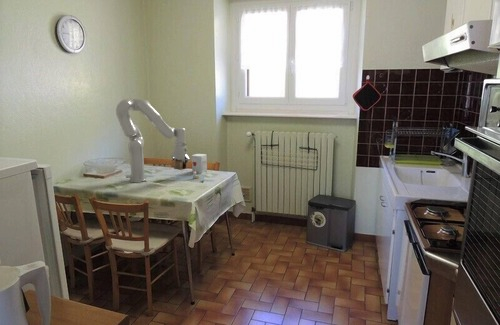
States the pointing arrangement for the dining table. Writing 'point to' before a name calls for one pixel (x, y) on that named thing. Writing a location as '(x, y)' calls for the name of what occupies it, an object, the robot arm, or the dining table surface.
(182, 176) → the post board
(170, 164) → the dining table surface
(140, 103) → the robot arm
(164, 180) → the dining table surface
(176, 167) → the collar
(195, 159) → the supplement box
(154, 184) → the dining table surface
